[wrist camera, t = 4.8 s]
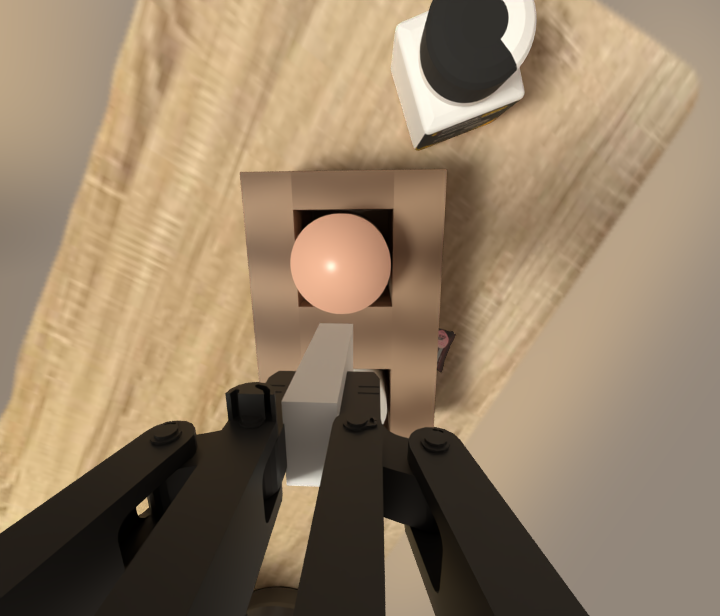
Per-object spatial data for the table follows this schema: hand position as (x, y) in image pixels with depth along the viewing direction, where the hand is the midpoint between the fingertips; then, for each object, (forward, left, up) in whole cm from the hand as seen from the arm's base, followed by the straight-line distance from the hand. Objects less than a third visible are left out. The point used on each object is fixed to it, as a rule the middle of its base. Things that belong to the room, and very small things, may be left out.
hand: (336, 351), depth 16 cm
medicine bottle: (+16, -8, -20) cm, 26 cm away
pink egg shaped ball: (+3, 0, -15) cm, 16 cm away
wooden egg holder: (-3, 0, -19) cm, 20 cm away
